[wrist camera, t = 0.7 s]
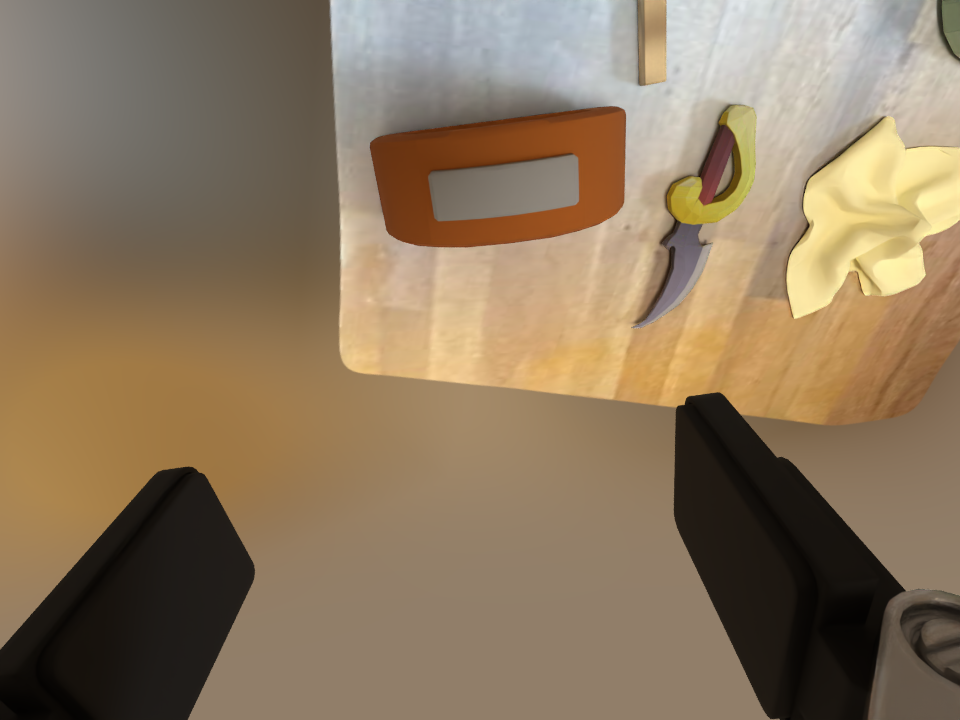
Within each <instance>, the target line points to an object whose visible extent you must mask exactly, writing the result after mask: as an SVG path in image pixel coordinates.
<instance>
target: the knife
mask: <svg viewBox="0 0 960 720" xmlns="http://www.w3.org/2000/svg"><path fill="white" fill-rule="evenodd" d="M756 119H757V117H756V114H755V112H754V109H753V108H752V107H748V106H745V105H731V106H730V107H729V108H728V109H727V110H726V111H725V112H724V113H723V115H722V117H721V119H720V121H719V125H720V126H721V127H720V129H719V132H718V134H717V137H716V139H715V142H714V144H713V147H712V149H711V152H710V154H709V156H708V159H707V161H706V164H705V166H704V169H703V171H702V174H701V176H700V177H692V176H689V177H687V178H684V179H682V180H680V181H678V182H676V183H674V184H672V186H671V188H670V190H669V192H668V194H667V203H668V210H669V211H670V212H671V213H672V215H673V216H674V217H675V218H676V219H677V220H678V222H677V224H676V227H675V230H674V232H673V233H672V234H670V235H669V236H668V237H667V238H666V239H665V240H664V241H663V243H662V244H663V245H664V247H665V248H667V249H668V250H669V248H670V247H671V253H672V256H671V269H670V272H669V274H668V277H667V280H666V283H665V285H664V288H663V290H662V292H661V294H660V296H659V298H658V300H657V301H656V303H655V305H654V307H653V308H652V310H651V311H650V313H649V314H648V316H647V317H646V319H644V320H643V321H642V322H641V323H640V324H638V325H636V326H633V327H631V328H642V327H644V326H646V325H649V324H651V323H653V322H654V321H656V320H658V319H659V318H661V317H662V316H664V315H665V314H667V313H668V312H670V311H671V310H672V309H674V308H675V307H677V306H678V305H679V304H680V303H681V302H682V300H683V299H684V298H685V297H686V296H687V295H688V293H689V292H690V291H691V290H692V289H693V287H694V285H695V284H696V282H697V280H698V279H699V277H700V275H701V273H702V272H703V269H704V267H705V264H706V261H707V258H708V256H709V253H710V250H711V247H712V245H713V243H710V244H707V245H704V246H702V245H701V244H700V243H699V239H698V233H699V231H700V229H701V227H702V225H703V224H704V223H713V222H718V221H719V220H721V219H722V218H724V217H725V216H727V215H728V214H730V213H732V212H733V211H735V210H736V209H737V208H738V207H739V205H740V204H741V203H742V202H743V200H744V198H745V197H746V195H747V194H748V192H749V191H750V188H751V186H752V184H753V181H754V175H755V165H756V161H755V133H756ZM731 151H733V155H734V167H735V173H734V177H733V179H732V182H731V184H730V187H729V188H728V189H727V190H726V191H725V192H724V193H722V194H721V195H719V196H717V197H715V198H714V195H715V192H716V190H717V187H718V185H719V182H720V179H721V177H722V174H723V172H724V169H725V166H726V164H727V161H728V158H729V156H730V153H731Z"/></svg>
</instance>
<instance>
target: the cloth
mask: <svg viewBox="0 0 960 720" xmlns="http://www.w3.org/2000/svg"><path fill="white" fill-rule="evenodd" d="M803 208H804V214H805V216H806V218H807V220H808V222H809V224H810V227H809V229H808V230H807V231H806V233H805V234H804V236H803V237H802V238H801V240H800V241H799V243H798V244H797V245H796V246H795V248H794V249H793V251H792V253H791V255H790V257H789V261H788V266H787V275H786V284H787V292H788V296H789V301H790V306H791V310H792V315H793V318H795V319H797V318H800V317H802V316H805V315H807V314H810V313H812V312H814V311H816V310H819V309H821V308H823V307H825V306H826V305H828V304H829V303H830V302H831V301H832V297H833V296H834V295H835V294H836V292H837V291H838V290H839V289H840V287H841V286H842V284H843V282H844V280H845V278H846V276H847V274H848V272H851V271H856V272H857V273H858V275H859V280H860V283H861V288H862V292H863V293H864V295H866V296H870V295H875V296H882V297H883V296H888V295H893V294H896V293H899V292H901V291H903V290H906V289H908V288H910V287H913V286H915V285H917V284H919V283H920V282H921V280H922V279H923V278H924V277H925V276H926V272H925V270H924V261H923V252H922V248H921V246H920V244H919V242H920V241H921V240H922V239H923V238H924V237H925V236H927V235H931V234H935V233H938V232H941V231H944V230H946V229H948V228H950V227H951V226H953V225H954V224H955V223H957V222H958V221H959V220H960V148H957V147H936V146H932V147H916V148H910V149H906V150H905V146H904V143H903V142H902V141H901V139H900V138H899V136H898V135H897V131H896V127H895V120H894V119H893V118H892V117H885V118H884V119H883V120H882V121H881V122H880V123H879V124H878V125H876V126H875V127H874V128H873V129H871V130H870V131H869V132H868V133H867V134H865V135H864V136H863V137H862V138H861V139H859V140H858V141H857V142H856V143H854V144H853V145H852V146H851V147H849V148H848V149H847V150H846V151H845V152H844V153H843V154H842V155H840V156H839V157H838V158H836V159H835V160H834V161H832V162H831V163H830V164H828V165H827V166H826V167H824V168H823V169H821V170H820V171H819V172H818V173H816V174H815V175H814V176H812V177H811V178H810V179H809V181H808V183H807V187H806V191H805V194H804V200H803Z"/></svg>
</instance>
